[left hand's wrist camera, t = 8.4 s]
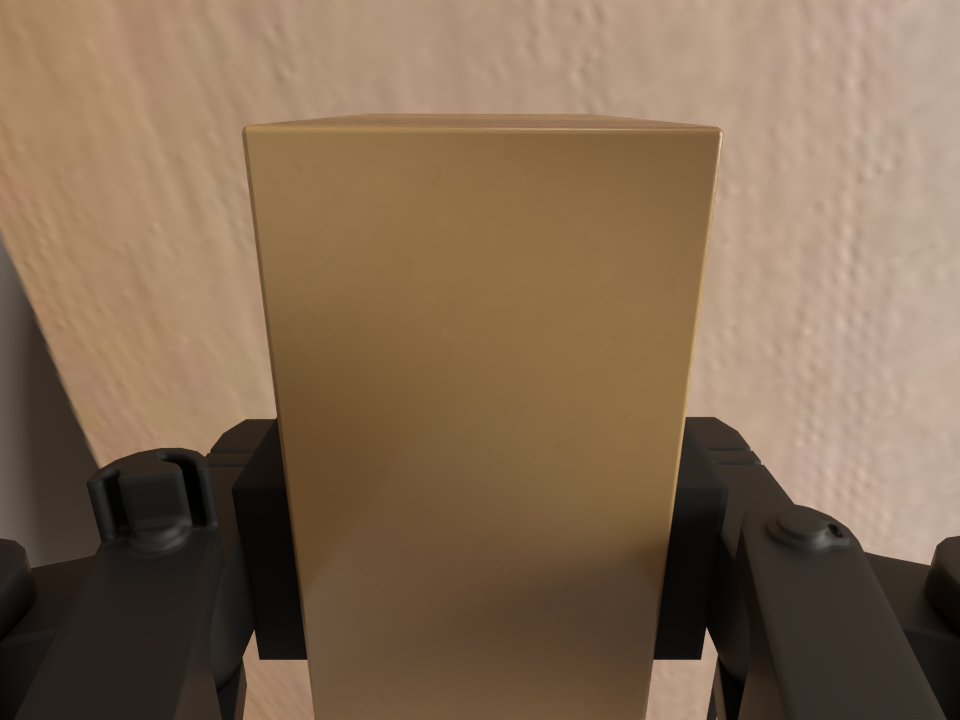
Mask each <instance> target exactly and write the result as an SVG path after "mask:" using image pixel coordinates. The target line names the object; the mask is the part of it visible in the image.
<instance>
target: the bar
mask: <svg viewBox="0 0 960 720" xmlns="http://www.w3.org/2000/svg"><path fill="white" fill-rule="evenodd" d="M242 138H243V146H244V154H245V162H246V170H247V178H248V186H249V194H250V202H251V210H252V218H253V226H254V234H255V242H256V250H257V258H258V266H259V274H260V282H261V290H262V298H263V306H264V314H265V322H266V331H267V339H268V347H269V355H270V363H271V371H272V379H273V387H274V395H275V403H276V411H277V419H278V427H279V435H280V443H281V451H282V459H283V467H284V475H285V483H286V491H287V499H288V507H289V515H290V523H291V531H292V540H293V548H294V556H295V564H296V572H297V580H298V588H299V596H300V604H301V612H302V620H303V628H304V636H305V644H306V652H307V660H308V668H309V676H310V684H311V692H312V700H313V708H314V716H315V720H645V718H646V711H647V703H648V696H649V688H650V681H651V673H652V666H653V658H654V651H655V643H656V636H657V628H658V621H659V613H660V606H661V598H662V591H663V583H664V576H665V568H666V561H667V553H668V546H669V538H670V531H671V524H672V516H673V509H674V501H675V494H676V486H677V479H678V471H679V464H680V456H681V449H682V441H683V434H684V426H685V419H686V411H687V404H688V396H689V389H690V381H691V374H692V366H693V359H694V351H695V344H696V336H697V329H698V321H699V314H700V306H701V299H702V291H703V284H704V276H705V269H706V261H707V254H708V247H709V239H710V232H711V224H712V217H713V209H714V202H715V194H716V187H717V179H718V172H719V164H720V157H721V149H722V142H723V132H722V129H720V128H718V127H713V126H703V125H693V124H683V123H673V122H663V121H653V120H643V119H633V118H623V117H613V116H603V115H593V114H362V115H352V116H341V117H331V118H320V119H309V120H299V121H288V122H278V123H267V124H257V125H248V126H246V127H244V128H243V132H242Z"/></svg>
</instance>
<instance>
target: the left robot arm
mask: <svg viewBox="0 0 960 720" xmlns="http://www.w3.org/2000/svg"><path fill="white" fill-rule="evenodd" d="M86 484H87V488H88V492H89V495H90V499H91V503H92V507H93V511H94V514H95V518H96V522H97V526H98V530H99V534H100V537H101V541H102V542H101V544H100V546H99V548H98V550H97V552H96V554H95V555H93V556H89V557H85V558H81V559H76V560H72V561H66V562H61V563H56V564H51V565H46V566H41V567H36V568H31V567H30V564H29V561H28V557H27V554H26V551H25V548H23V547H22V546H21V545H20V544H18V543H17V542H16V541H13V540H6V539H0V720H243V713H244V705H245V697H246V688H247V682H246V675H245V669H244V663H243V655H244V652H245V650H246V648H247V645H248V643H249V641H250V638H251V636H252V633H253V631H254V629H255V635H256V641H257V647H258V653H259V659H260V660H307V652H306V644H305V636H304V628H303V620H302V612H301V604H300V596H299V588H298V580H297V572H296V564H295V556H294V548H293V540H292V531H291V523H290V515H289V507H288V499H287V491H286V483H285V475H284V467H283V459H282V451H281V443H280V435H279V427H278V419H277V418H276V419H246V420H244V421H243V422H241V423H239V424H238V425H236V426H234V427H233V428H231V429H230V430H228V431H226V432H225V433H223V434H222V436H221V437H220V438H219V440H218V441H217V442H216V444H215V445H214V446H213V447H212V449H211V452H210V453H208V454H207V455H206V456H205V457H204V456H203V455H201V454H200V453H199V452H198V451H193V450H189V449H184V448H159V449H154V450H148V451H143V452H138V453H135V454H132V455H129V456H126V457H123V458H121V459H118V460H115V461H114V462H112V463H110V464H108V465H107V466H105V467H103V468H101V469H100V470H98V471H97V472H96V473H95V474H94V475H93V476H92V477H91V478H90V479H89V480H88V481H87V482H86ZM706 627H707V629H708V631H709V634H710V636H711V638H712V641H713V643H714V645H715V648H716V650H717V652H718V657H717V663H716V669H715V674H714V680H713V685H712V691H711V697H710V702H709V708H708V714H707V720H716V718H717V720H960V536H956V537H949V538H946V539H945V540H943V541H942V542H941V543H939V544H938V545H937V547H936V550H935V553H934V556H933V559H932V562H931V566H930V565H924V564H919V563H914V562H909V561H904V560H899V559H894V558H889V557H884V556H879V555H875V554H871V553H867V552H864V551H863V549H862V547H861V545H860V543H859V541H858V540H857V538H856V537H855V536H854V535H853V533H852V532H851V531H850V530H849V529H848V528H847V527H846V526H844V525H843V524H841V523H840V522H839V521H837V520H836V519H834V518H833V517H831V516H829V515H827V514H824V513H822V512H819V511H817V510H814V509H812V508H809V507H805V506H800V505H795V504H794V503H793V502H792V500H791V499H790V498H789V497H788V495H787V494H786V493H785V491H784V490H783V489H782V488H781V486H780V485H779V484H778V482H777V481H776V480H775V479H774V477H773V476H772V475H771V473H770V472H769V471H768V470H767V468H766V467H765V466H764V465H761V461H760V459H759V458H758V457H757V456H756V454H755V453H754V452H753V451H751V450H750V447H749V445H748V444H747V443H746V441H745V440H744V439H743V438H742V436H741V435H740V434H739V432H738V431H736V430H735V429H733V428H731V427H730V426H728V425H727V424H725V423H723V422H722V421H720V420H718V419H717V418H715V417H686V419H685V426H684V434H683V441H682V449H681V456H680V464H679V471H678V479H677V486H676V494H675V501H674V509H673V516H672V524H671V531H670V538H669V546H668V553H667V561H666V568H665V576H664V583H663V591H662V598H661V606H660V613H659V621H658V628H657V636H656V643H655V651H654V658H653V660H701V656H702V650H703V644H704V638H705V632H706Z"/></svg>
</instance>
